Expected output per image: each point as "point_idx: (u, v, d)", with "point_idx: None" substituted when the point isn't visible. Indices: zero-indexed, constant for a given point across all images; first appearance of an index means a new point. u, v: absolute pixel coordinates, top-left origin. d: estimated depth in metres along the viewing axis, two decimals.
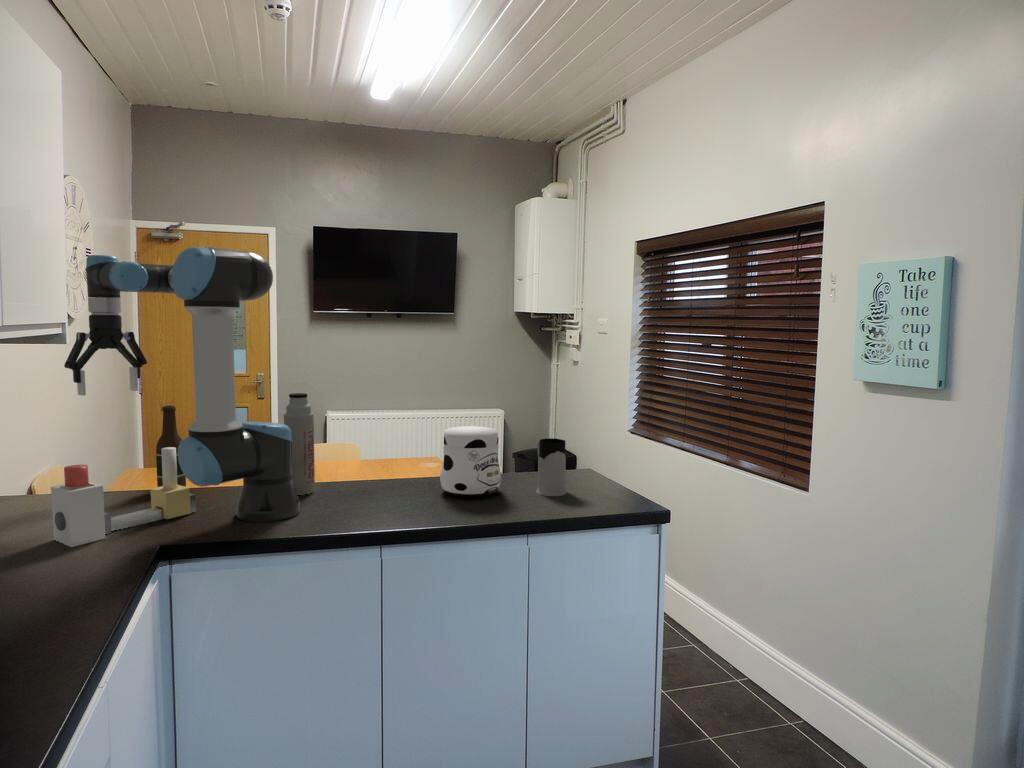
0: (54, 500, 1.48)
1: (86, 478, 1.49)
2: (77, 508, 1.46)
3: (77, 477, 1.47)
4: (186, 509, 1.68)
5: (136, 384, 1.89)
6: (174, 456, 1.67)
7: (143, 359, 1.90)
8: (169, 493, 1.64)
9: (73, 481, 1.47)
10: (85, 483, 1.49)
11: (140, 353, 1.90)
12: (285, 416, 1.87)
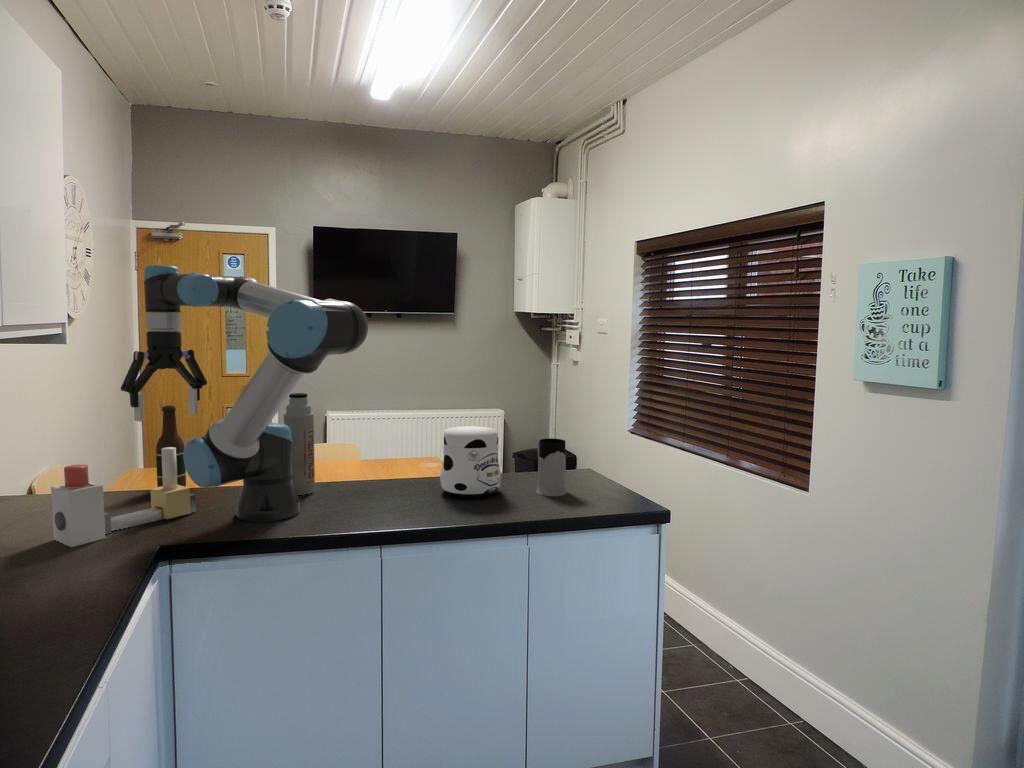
0: (54, 500, 1.48)
1: (86, 478, 1.49)
2: (77, 508, 1.46)
3: (77, 477, 1.47)
4: (186, 509, 1.68)
5: (196, 407, 1.71)
6: (174, 456, 1.67)
7: (203, 379, 1.72)
8: (169, 493, 1.64)
9: (73, 481, 1.47)
10: (85, 483, 1.49)
11: (200, 373, 1.72)
12: (285, 416, 1.87)
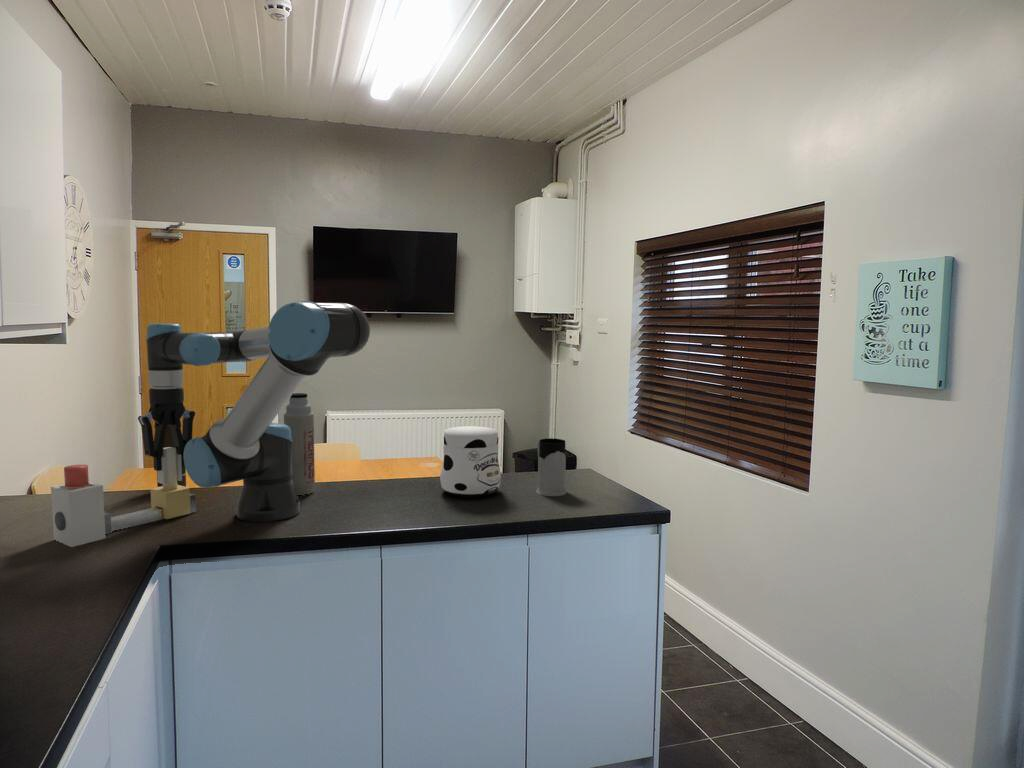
0: (54, 500, 1.48)
1: (86, 478, 1.49)
2: (77, 508, 1.46)
3: (77, 477, 1.47)
4: (186, 509, 1.68)
5: (180, 473, 1.69)
6: (174, 456, 1.67)
7: None
8: (169, 493, 1.64)
9: (73, 481, 1.47)
10: (85, 483, 1.49)
11: (190, 437, 1.70)
12: (285, 416, 1.87)
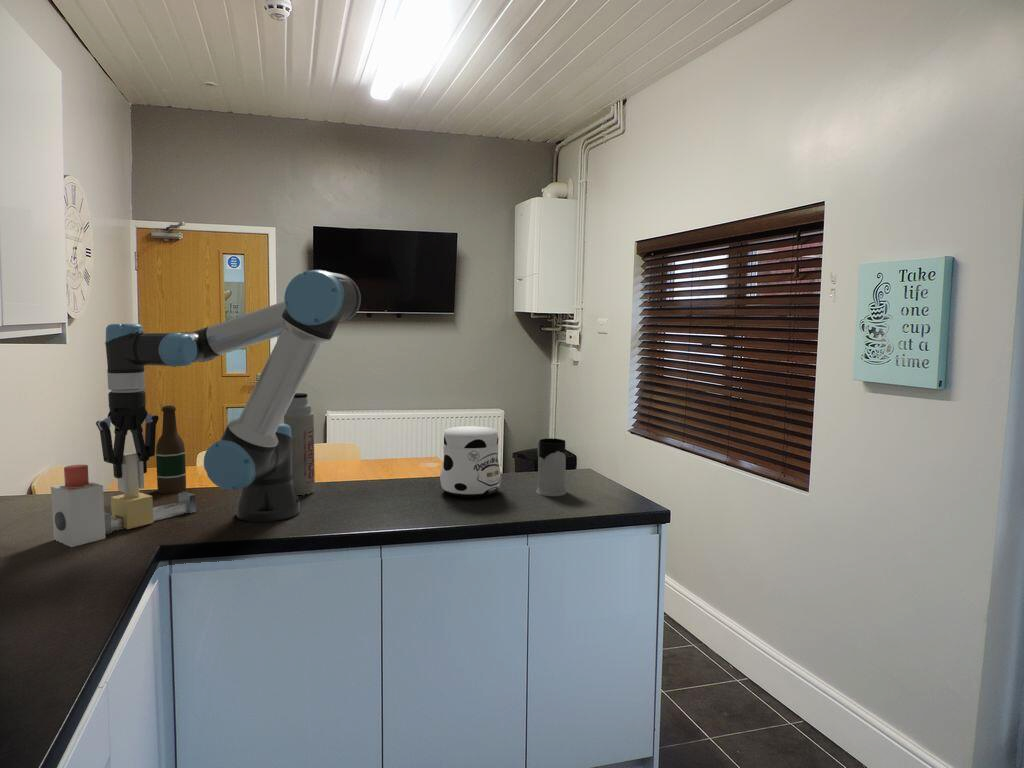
0: (54, 500, 1.48)
1: (86, 478, 1.49)
2: (77, 508, 1.46)
3: (77, 477, 1.47)
4: (148, 518, 1.61)
5: (142, 480, 1.61)
6: (136, 463, 1.59)
7: (152, 450, 1.63)
8: (130, 502, 1.57)
9: (73, 481, 1.47)
10: (85, 483, 1.49)
11: (152, 442, 1.63)
12: (285, 416, 1.87)
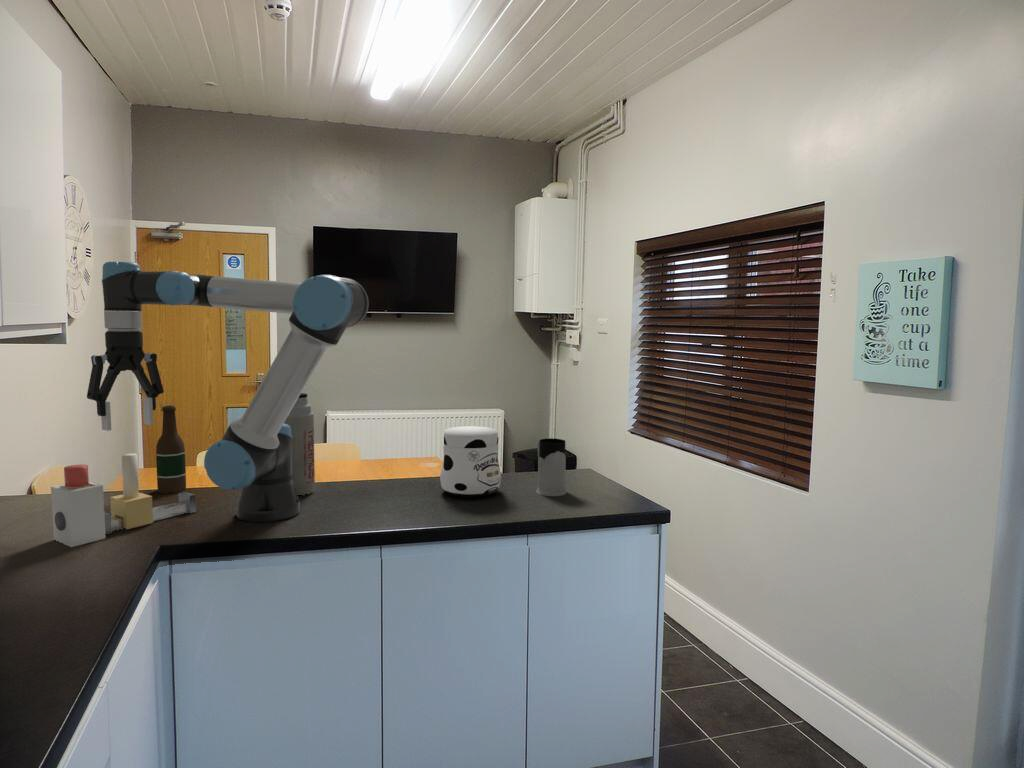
0: (54, 500, 1.48)
1: (86, 478, 1.49)
2: (77, 508, 1.46)
3: (77, 477, 1.47)
4: (148, 518, 1.61)
5: (151, 417, 1.62)
6: (135, 463, 1.59)
7: (160, 387, 1.63)
8: (129, 502, 1.57)
9: (73, 481, 1.47)
10: (85, 483, 1.49)
11: (158, 380, 1.63)
12: None
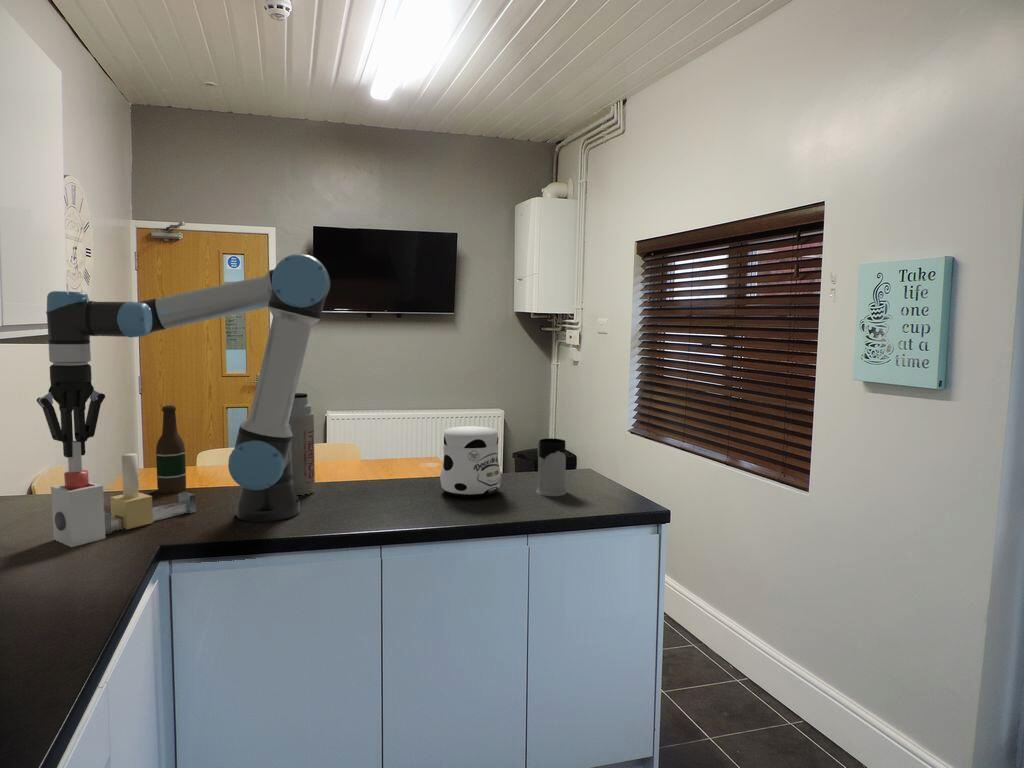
0: (54, 500, 1.48)
1: (87, 484, 1.49)
2: (77, 508, 1.46)
3: (77, 482, 1.47)
4: (148, 518, 1.61)
5: (80, 463, 1.48)
6: (135, 463, 1.59)
7: (92, 430, 1.50)
8: (129, 502, 1.57)
9: (73, 486, 1.47)
10: None
11: (94, 422, 1.50)
12: None
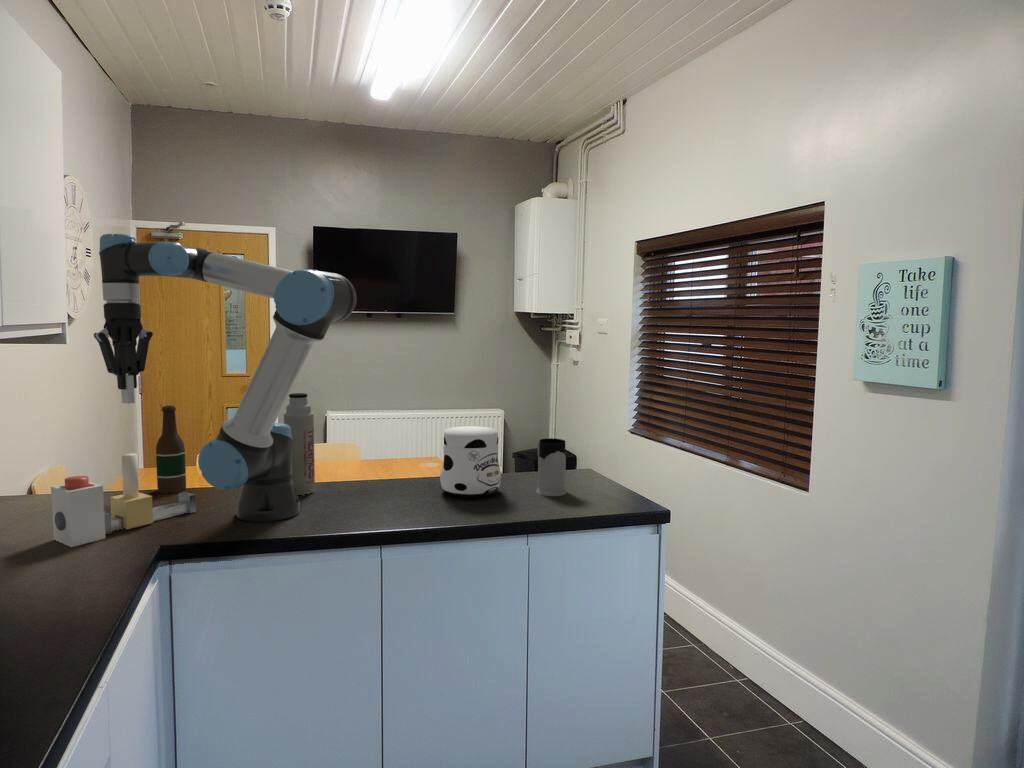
0: (54, 500, 1.48)
1: None
2: (77, 508, 1.46)
3: None
4: (148, 518, 1.61)
5: (133, 395, 1.60)
6: (135, 463, 1.59)
7: (142, 365, 1.62)
8: (129, 502, 1.57)
9: None
10: None
11: (144, 358, 1.62)
12: (285, 416, 1.87)
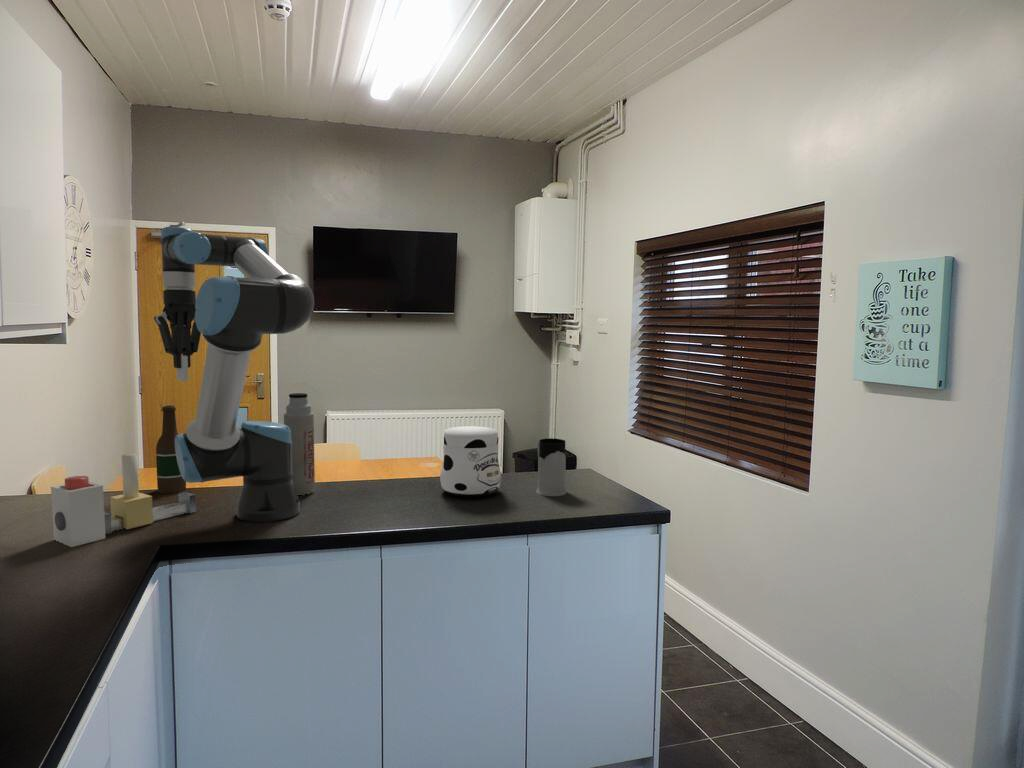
0: (54, 500, 1.48)
1: None
2: (77, 508, 1.46)
3: None
4: (148, 518, 1.61)
5: (187, 373, 1.77)
6: (135, 463, 1.59)
7: (196, 346, 1.79)
8: (129, 502, 1.57)
9: None
10: None
11: (197, 340, 1.79)
12: (285, 416, 1.87)
